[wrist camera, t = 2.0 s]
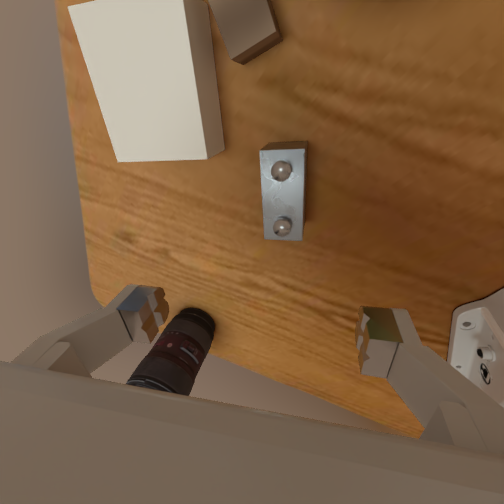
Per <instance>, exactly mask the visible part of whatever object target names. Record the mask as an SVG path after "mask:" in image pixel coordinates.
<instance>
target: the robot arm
mask: <svg viewBox="0 0 504 504" xmlns="http://www.w3.org/2000/svg"><path fill="white" fill-rule="evenodd" d="M164 296H165V293H164V290H163V288H160V287H153V286H145V285H134V284H130V285H127V286H126V287H125V288H124V289H123V290H122V291H121V292H120V293H119V294H118V295H117V296H116V297H115V298H114V299H113V300H112V301H111V302H110V303H109V304H108V305H107V306H106V307H105V308H100V309H98V310H96V311H94V312H92V313H90V314H87V315H85V316H83V317H81V318H79V319H77V320H75V321H72V322H70V323H68V324H66V325H64V326H62V327H60V328H58V329H55V330H53V331H51V332H49V333H47V334H45V335H43V336H40V337H39V338H38V339H37V340H35V341H34V342H33V343H32V344H31V345H30V346H29V347H27V348H26V349H25V350H24V351H23V352H22V353H21V354H20V355H19V356H17V357H16V358H15V359H14V360H13V361H11V363H9V362H3V361H0V504H504V288H503V289H501V290H500V291H498V292H496V293H494V294H493V295H491V296H489V297H487V298H485V299H483V300H480V301H476V302H472V303H469V304H466V305H463V306H460V307H458V308H457V309H455V310H454V312H453V317H452V325H451V333H450V341H449V349H448V357H447V362H446V361H445V360H444V359H443V358H441V357H440V356H439V355H438V354H436V353H435V352H434V351H433V350H431V349H430V348H429V347H428V346H423V345H422V343H421V341H420V338H419V336H418V334H417V331H416V329H415V327H414V324H413V322H412V320H411V318H410V315H409V313H408V311H407V310H406V309H397V308H382V307H370V306H360V308H359V313H358V314H359V321H357V322H356V328H355V342H356V347H357V349H358V350H359V355H358V361H359V366H360V372H361V374H363V375H369V376H375V377H381V378H386V379H387V381H388V382H389V383H390V385H391V386H392V387H393V388H394V390H395V391H396V392H397V394H398V395H399V396H400V397H401V399H402V400H403V401H404V402H405V404H406V405H407V406H408V408H409V409H410V410H411V411H412V413H413V414H414V415H415V416H416V418H417V419H418V420H419V422H420V423H421V424H422V425H423V427H424V428H425V430H424V431H423V433H422V435H421V436H420V438H419V439H416V438H411V437H405V436H400V435H394V434H389V433H384V432H378V431H373V430H368V429H362V428H357V427H352V426H347V425H341V424H336V423H330V422H325V421H320V420H314V419H309V418H304V417H298V416H293V415H288V414H282V413H276V412H271V411H266V410H260V409H255V408H250V407H244V406H239V405H234V404H228V403H223V402H218V401H212V400H207V399H202V398H196V397H191V396H186V395H180V394H175V393H170V392H164V391H159V390H153V389H148V388H143V387H137V386H132V385H127V384H121V383H116V382H111V381H105V380H100V379H94V378H92V376H91V375H90V373H91V372H93V371H94V370H96V369H97V368H98V367H100V366H101V365H103V364H104V363H105V362H106V361H108V360H109V359H111V358H112V357H113V356H115V355H116V354H118V353H119V352H120V351H122V350H123V349H124V348H126V347H127V346H129V345H130V344H131V343H132V342H141V343H149V344H150V343H151V342H152V341H153V339H154V338H155V336H156V335H157V333H158V332H159V330H158V327H159V326H161V325H162V324H164V323H165V321H166V319H167V317H168V314H169V305H168V302H167V301H166V300H165V299H164Z"/></svg>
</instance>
